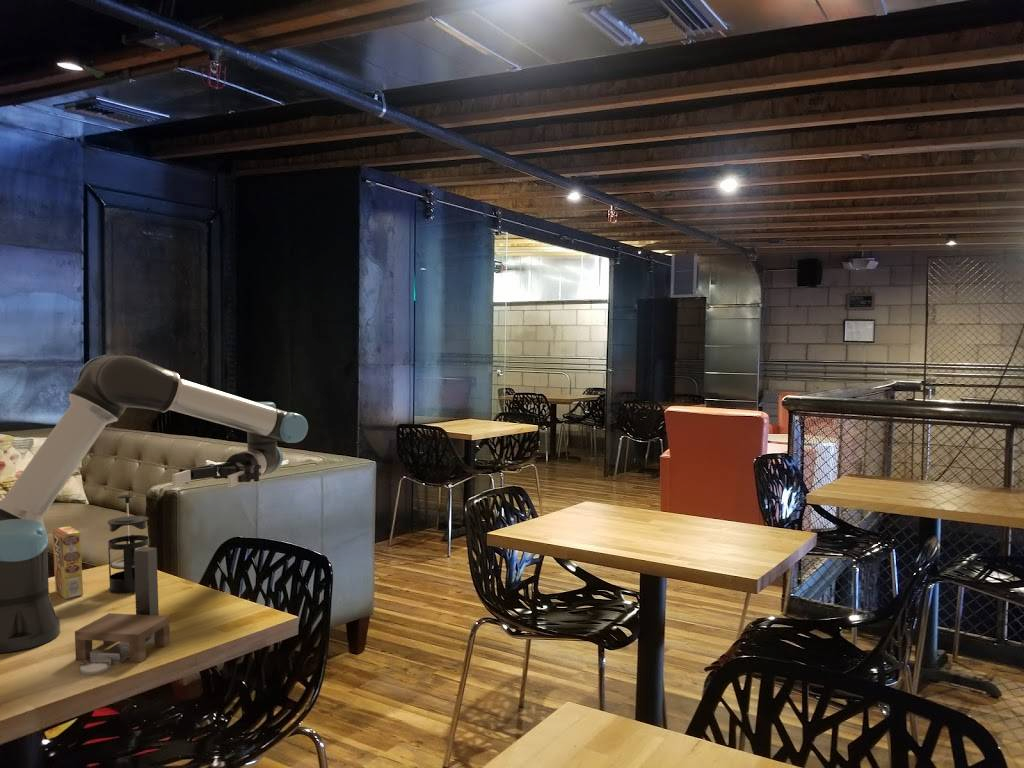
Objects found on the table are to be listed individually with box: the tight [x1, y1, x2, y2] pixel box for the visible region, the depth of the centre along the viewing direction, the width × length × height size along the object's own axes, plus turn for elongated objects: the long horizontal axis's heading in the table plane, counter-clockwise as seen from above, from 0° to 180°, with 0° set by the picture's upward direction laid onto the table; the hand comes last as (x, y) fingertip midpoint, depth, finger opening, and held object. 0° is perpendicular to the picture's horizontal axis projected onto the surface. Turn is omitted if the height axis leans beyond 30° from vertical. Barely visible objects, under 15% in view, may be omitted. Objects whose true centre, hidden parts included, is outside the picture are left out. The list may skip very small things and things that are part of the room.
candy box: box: [51, 526, 84, 600], centre depth 187 cm, size 9×4×15 cm, turn 44°
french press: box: [106, 493, 150, 595], centre depth 191 cm, size 12×9×23 cm
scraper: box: [89, 546, 160, 665], centre depth 153 cm, size 6×15×18 cm, turn 172°
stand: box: [74, 612, 171, 664], centre depth 152 cm, size 13×10×6 cm
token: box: [79, 657, 112, 676], centre depth 144 cm, size 5×5×2 cm
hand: (201, 481), depth 180 cm, fingers open, 13 cm apart
